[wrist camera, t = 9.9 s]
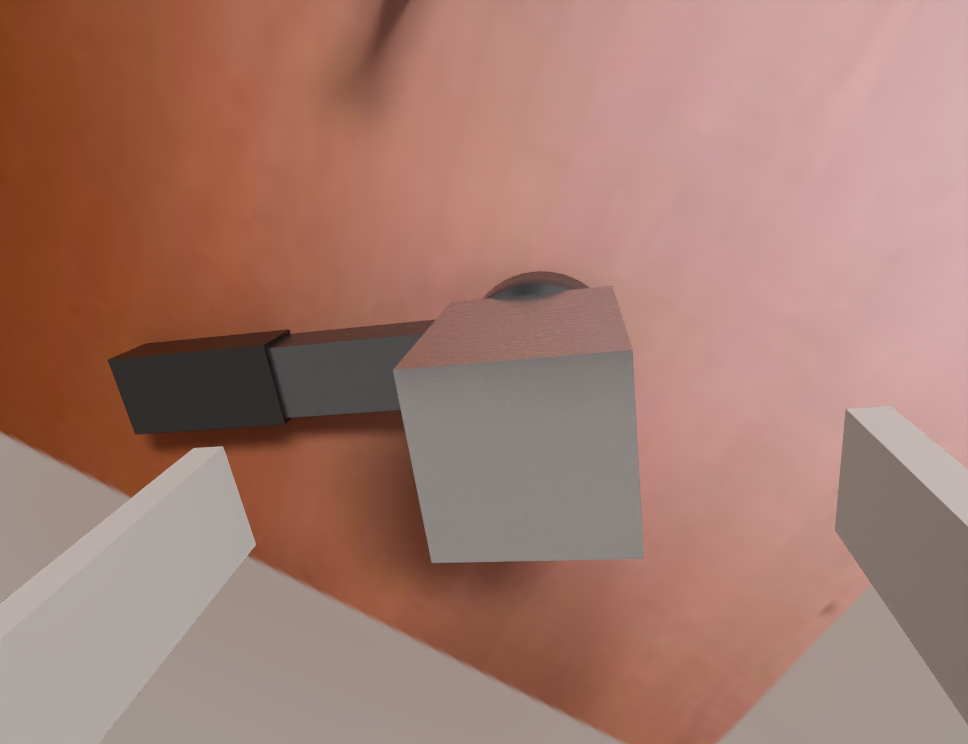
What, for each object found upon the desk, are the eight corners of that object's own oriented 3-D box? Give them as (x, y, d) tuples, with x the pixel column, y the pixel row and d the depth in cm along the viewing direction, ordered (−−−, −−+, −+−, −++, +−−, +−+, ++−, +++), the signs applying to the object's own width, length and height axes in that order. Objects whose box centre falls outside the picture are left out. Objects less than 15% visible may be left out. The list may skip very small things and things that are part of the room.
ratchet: (135, 315, 25) (-3, 365, 19) (612, 263, 21) (628, 303, 15) (177, 438, 27) (64, 518, 21) (621, 409, 23) (638, 496, 17)
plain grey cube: (450, 302, 20) (392, 369, 14) (612, 285, 19) (632, 349, 13) (473, 444, 22) (431, 562, 16) (621, 435, 21) (643, 558, 15)
